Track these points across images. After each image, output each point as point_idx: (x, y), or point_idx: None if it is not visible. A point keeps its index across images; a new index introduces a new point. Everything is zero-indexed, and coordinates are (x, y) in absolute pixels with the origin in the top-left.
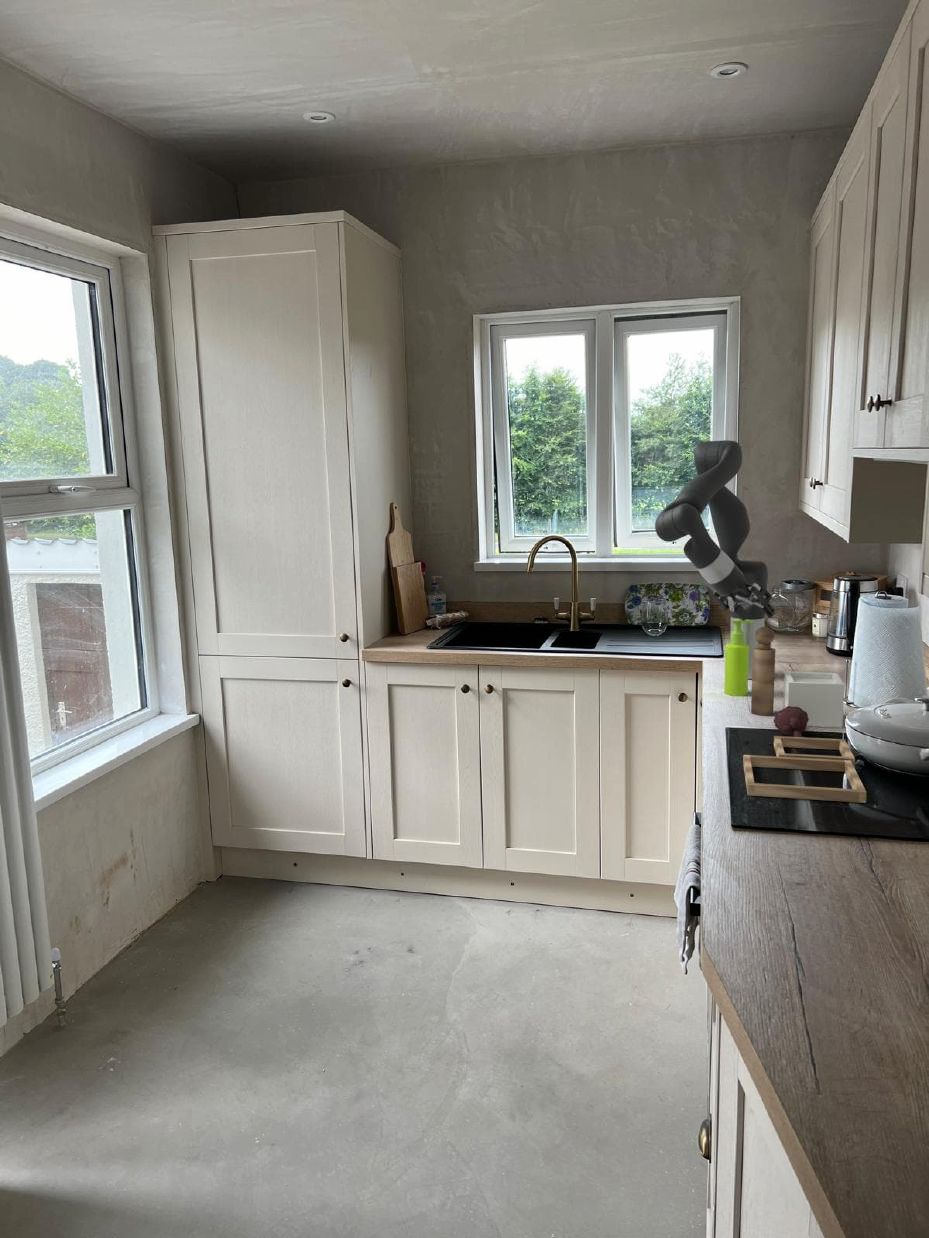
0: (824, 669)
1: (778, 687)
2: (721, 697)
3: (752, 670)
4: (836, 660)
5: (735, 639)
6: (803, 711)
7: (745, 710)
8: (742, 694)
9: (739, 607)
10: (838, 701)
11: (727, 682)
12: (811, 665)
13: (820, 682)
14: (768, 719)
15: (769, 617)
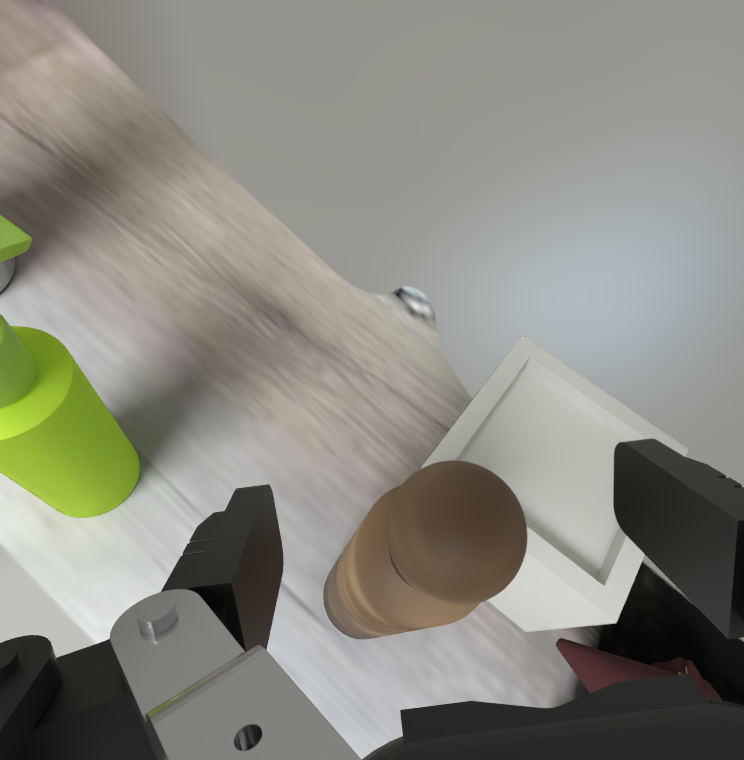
0: (94, 89)
1: (144, 304)
2: (95, 570)
3: (369, 622)
4: (53, 15)
5: None
6: (703, 682)
7: (303, 627)
8: (136, 477)
9: (244, 613)
10: None
11: (63, 504)
12: (35, 75)
13: (558, 440)
14: (441, 639)
15: (624, 524)
